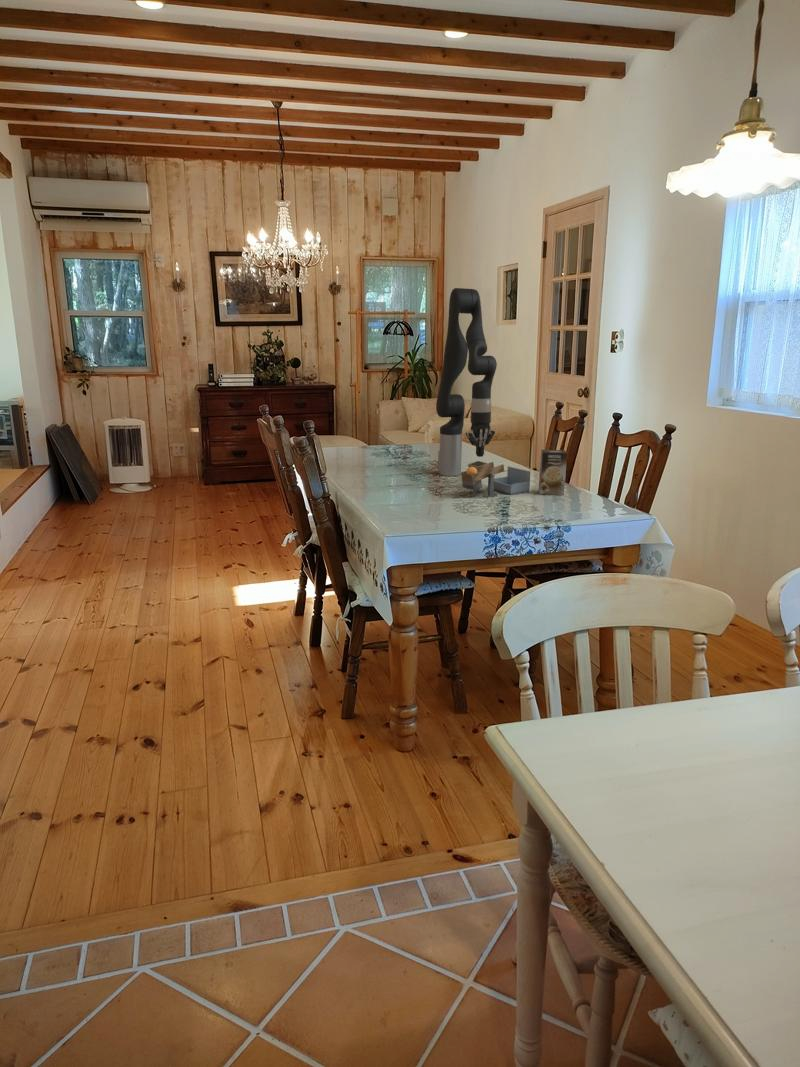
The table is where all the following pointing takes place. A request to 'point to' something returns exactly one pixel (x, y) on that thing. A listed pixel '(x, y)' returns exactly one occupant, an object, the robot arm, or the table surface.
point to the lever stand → (490, 487)
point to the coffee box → (552, 472)
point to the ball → (471, 471)
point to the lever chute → (479, 474)
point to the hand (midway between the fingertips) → (479, 456)
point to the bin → (513, 481)
